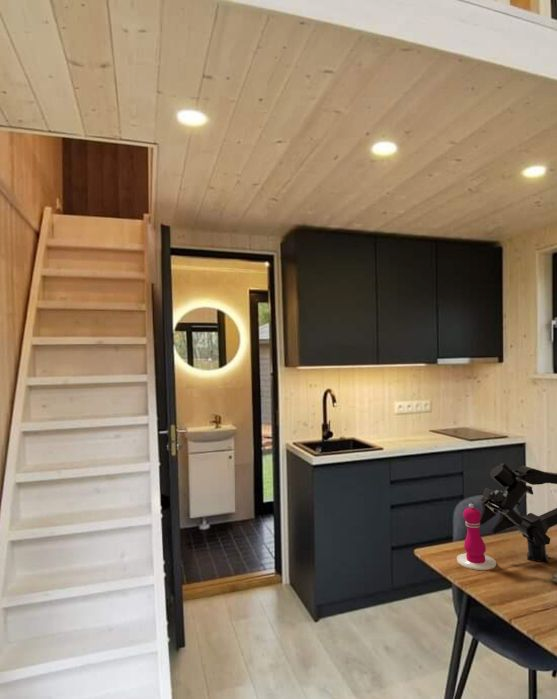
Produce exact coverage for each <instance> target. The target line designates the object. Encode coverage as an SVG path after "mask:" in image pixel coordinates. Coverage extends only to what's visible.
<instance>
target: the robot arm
mask: <svg viewBox="0 0 557 699" xmlns="http://www.w3.org/2000/svg"><path fill="white" fill-rule="evenodd" d="M489 476H490V477H491V478H492V479H493V480H494V481H496V482H497V483H498V484H499V485H500V486H501V487H503V488H505V490H504V491H503V490H498V489H495V490H492V489H489V488H486V487H485V488H484V490H483V494H482V497H481V499H480V502H481V503H480V505H481V506H482V511H481V512H482V513H481V519H480V521H479V522H480V526H482V525H485V524H486V523H487V522H489V521H490V520H491V519H492V518H495V517H496V516H497V513H499V519H498V521H497V523H496V524H495V526H494V527H493V529H492V533H493V534H497V533H500V532H502V531H504V530H506V529H507V530H508V529H510V528H512V527H517V530H518V531H519V533H521V535H522V536H523V537H524V538H525V539H526V542H527V543H526V544H527V551H528V552H527V554H526V559H527V560H530V561H531V560H532V561H537V562H543V563H549V554H547V547H546V545H550V542H551V538H550V537H549V535H547V533H548V531H549V529H550V528H553V527H556V525H557V507H556V508H554V509H552V510H549V511H546V512H545V513H543V514H541V515H537V514H535V513H533V512H529V513H527V514H526V515H523V516H521V515H520V514H518V513H517V511H515V510H514V509H515V508H516V506H517V507H520V506H521V503H520V502H521V500H522V499H523V498H524V496H526V494H530V495H534V491H533V486H536V485H543V484H553V485H557V472H549V471H543V470H539V469H536V468H533V467H529V466H526V465H522V466H520V467H519V468H518V469H512V470H511V469H510V468H509V466H508V465H507V464H506V463H503V462H501V463H500V464H499V465H496V466H494V467H493V468H492V469H491V470H490V472H489ZM528 484H529V485H528ZM530 485H531V486H530Z"/></svg>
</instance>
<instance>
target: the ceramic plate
mask: <svg viewBox="0 0 557 699" xmlns="http://www.w3.org/2000/svg"><path fill="white" fill-rule="evenodd" d="M466 554H467V552H465V553H461V554H458V555H457V557H456V562H457V563H458V564H459V566H462V567H463V568H466V569H470V570H476V571H489V570H492V569H494V568H495V569H496V567H497V561H496V560H495V559H494V558H493V557H491V556H489V555H486V554H484V555H485V562H484V563H472V562H469V561H468V560H467V558H466Z"/></svg>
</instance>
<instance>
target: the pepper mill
mask: <svg viewBox="0 0 557 699" xmlns="http://www.w3.org/2000/svg"><path fill="white" fill-rule="evenodd" d="M462 515H463V518H464V520H465V526H466V530H467V531H466V532H467V533H466V537H465V539H464V543H463V547H464V548H463V549H464V550H465V553H467V554H466V558H467V560H468V561H469V562H472V563H484V562H485V555H486V554H485V553H486V551H487V548H486V544H485V542H484V540H483V538H482V536H481V533H480V532H481V531H480V527H481V525H480V522H479V521H480V519H481V515H482V513H481V512H480V511H479V509H477V508H475V506H474V504H473V503H469V504H468V507H467V508H465V509H464V510H463V513H462Z"/></svg>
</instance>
